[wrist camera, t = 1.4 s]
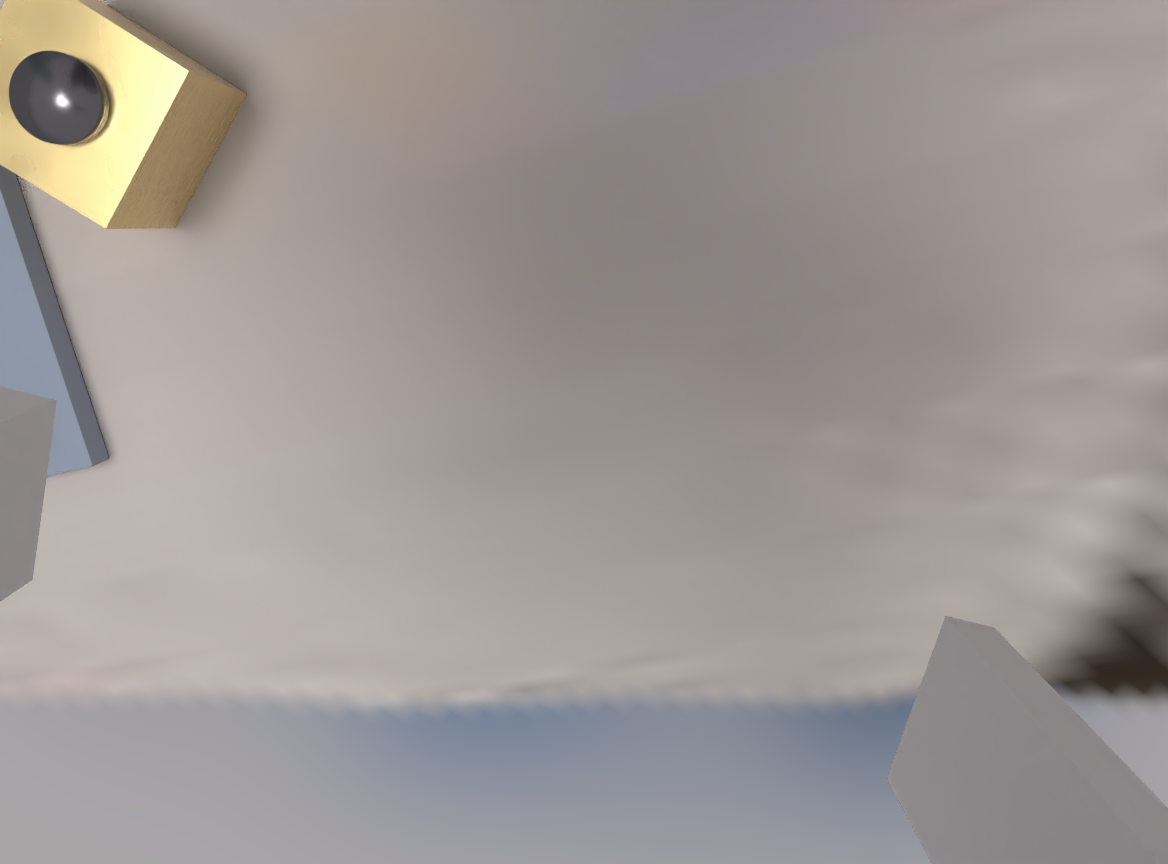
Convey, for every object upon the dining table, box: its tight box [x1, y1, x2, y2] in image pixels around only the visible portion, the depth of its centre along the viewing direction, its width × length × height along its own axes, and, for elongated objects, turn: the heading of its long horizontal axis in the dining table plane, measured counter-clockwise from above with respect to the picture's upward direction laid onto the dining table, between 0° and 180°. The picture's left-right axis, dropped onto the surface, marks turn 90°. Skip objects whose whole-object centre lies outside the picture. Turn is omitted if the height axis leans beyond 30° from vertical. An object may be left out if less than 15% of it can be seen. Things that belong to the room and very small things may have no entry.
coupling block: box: [0, 0, 247, 229], centre depth 29 cm, size 5×5×6 cm
